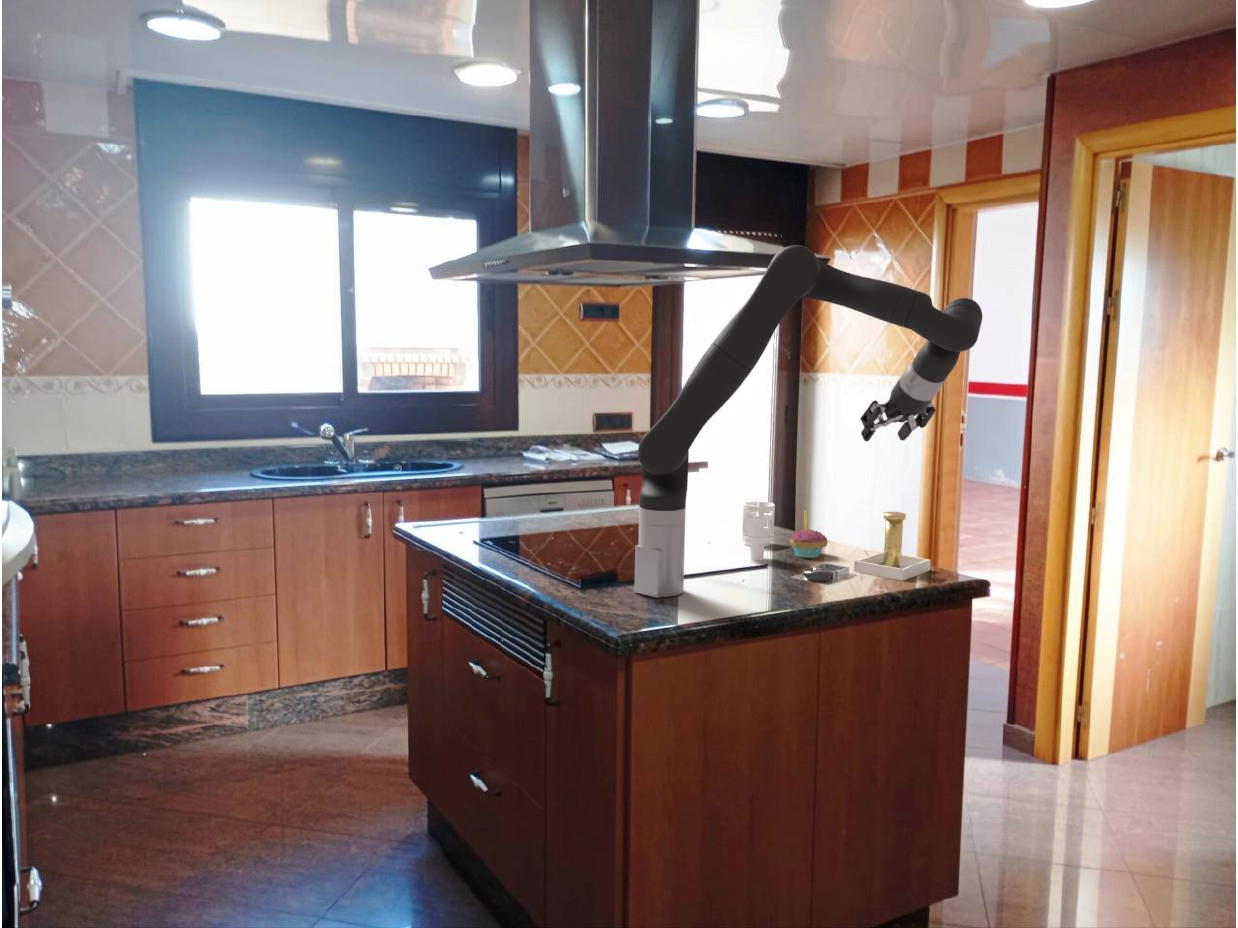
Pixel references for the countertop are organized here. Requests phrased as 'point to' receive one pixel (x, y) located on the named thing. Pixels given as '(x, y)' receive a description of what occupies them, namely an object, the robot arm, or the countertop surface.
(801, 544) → the cupcake
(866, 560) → the tray
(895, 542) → the gold mushroom peg
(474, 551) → the countertop surface
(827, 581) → the tensioner plate
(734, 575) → the countertop surface
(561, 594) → the countertop surface
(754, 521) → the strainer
